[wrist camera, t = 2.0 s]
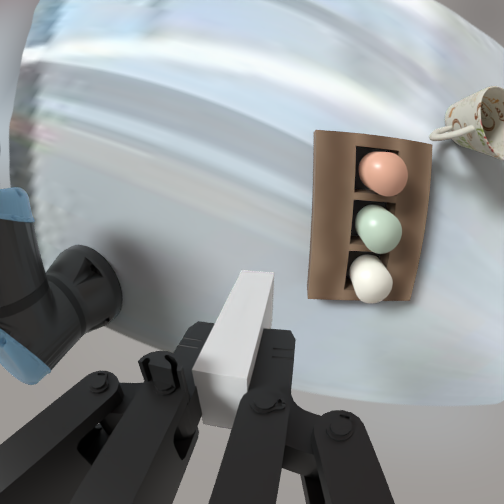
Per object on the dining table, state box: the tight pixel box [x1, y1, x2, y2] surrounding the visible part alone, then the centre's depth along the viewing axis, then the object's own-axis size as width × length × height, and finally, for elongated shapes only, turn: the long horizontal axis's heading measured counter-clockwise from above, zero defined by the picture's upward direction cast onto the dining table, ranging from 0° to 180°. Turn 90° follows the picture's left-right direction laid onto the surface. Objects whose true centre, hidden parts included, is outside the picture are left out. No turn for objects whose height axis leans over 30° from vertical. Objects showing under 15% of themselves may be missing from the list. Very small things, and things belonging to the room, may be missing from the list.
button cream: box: [349, 254, 393, 304], centre depth 30 cm, size 4×4×4 cm
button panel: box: [307, 130, 432, 301], centre depth 31 cm, size 14×20×4 cm
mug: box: [429, 86, 504, 161], centre depth 22 cm, size 8×13×10 cm, turn 117°
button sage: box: [355, 204, 402, 254], centre depth 28 cm, size 4×4×4 cm
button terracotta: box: [358, 151, 408, 196], centre depth 26 cm, size 4×4×4 cm
